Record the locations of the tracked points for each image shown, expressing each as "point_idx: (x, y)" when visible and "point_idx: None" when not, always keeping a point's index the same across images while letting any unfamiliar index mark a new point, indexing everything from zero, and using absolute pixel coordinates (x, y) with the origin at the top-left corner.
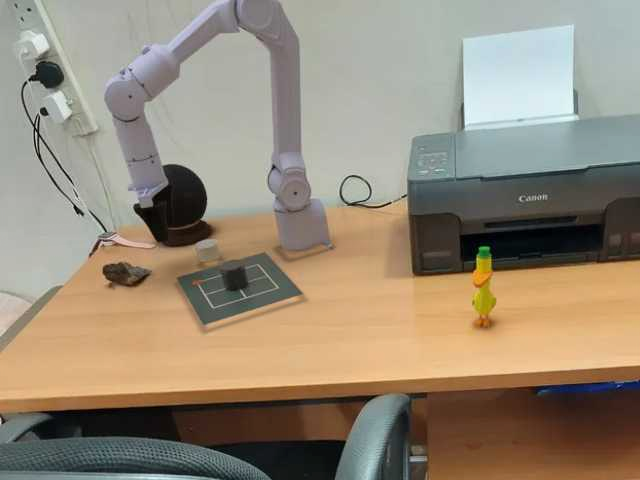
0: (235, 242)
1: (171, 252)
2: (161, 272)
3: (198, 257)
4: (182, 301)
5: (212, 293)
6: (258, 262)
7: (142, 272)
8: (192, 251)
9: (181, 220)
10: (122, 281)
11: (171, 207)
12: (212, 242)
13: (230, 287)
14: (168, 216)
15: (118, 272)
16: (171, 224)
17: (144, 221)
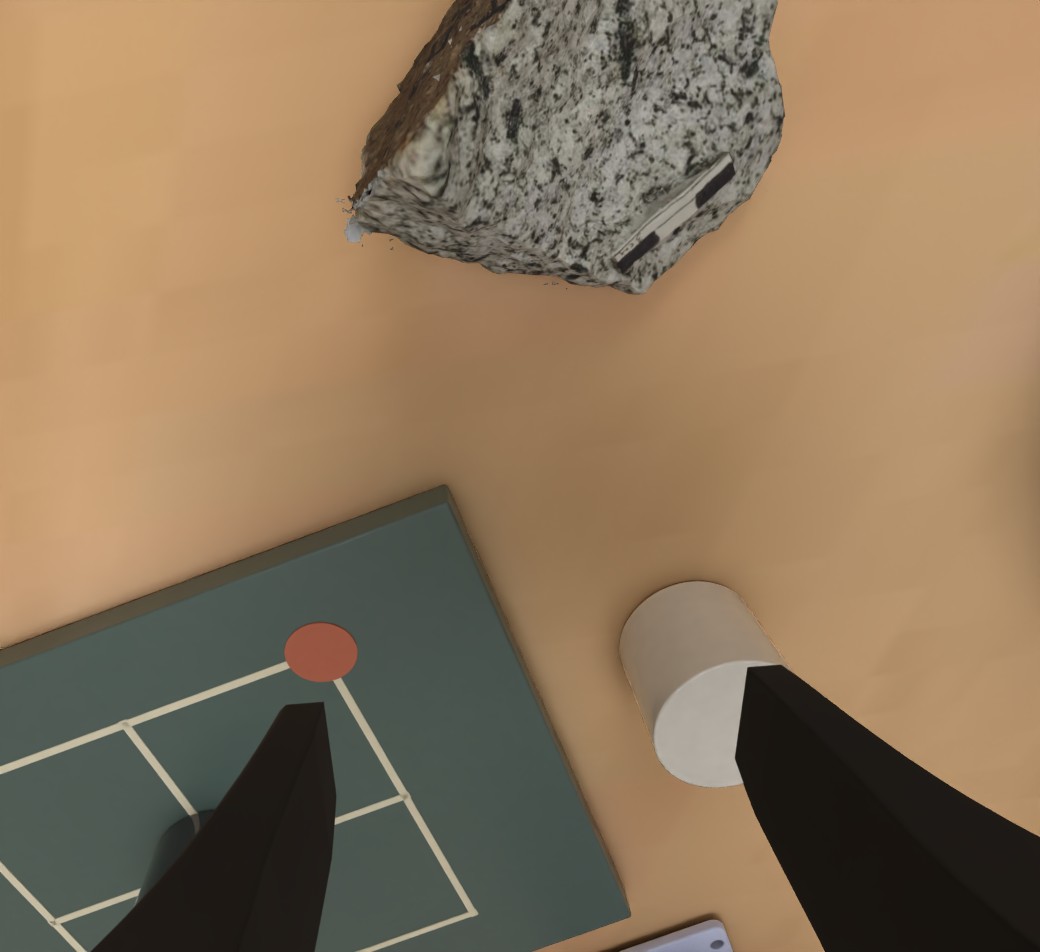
0: (915, 723)
1: (1009, 346)
2: (683, 329)
3: (681, 622)
4: (158, 558)
5: (140, 759)
6: (501, 910)
7: (515, 262)
8: (934, 495)
9: None
10: (405, 79)
11: (824, 943)
12: (730, 763)
13: (149, 865)
14: (778, 812)
15: (438, 52)
16: (737, 748)
17: (105, 940)
